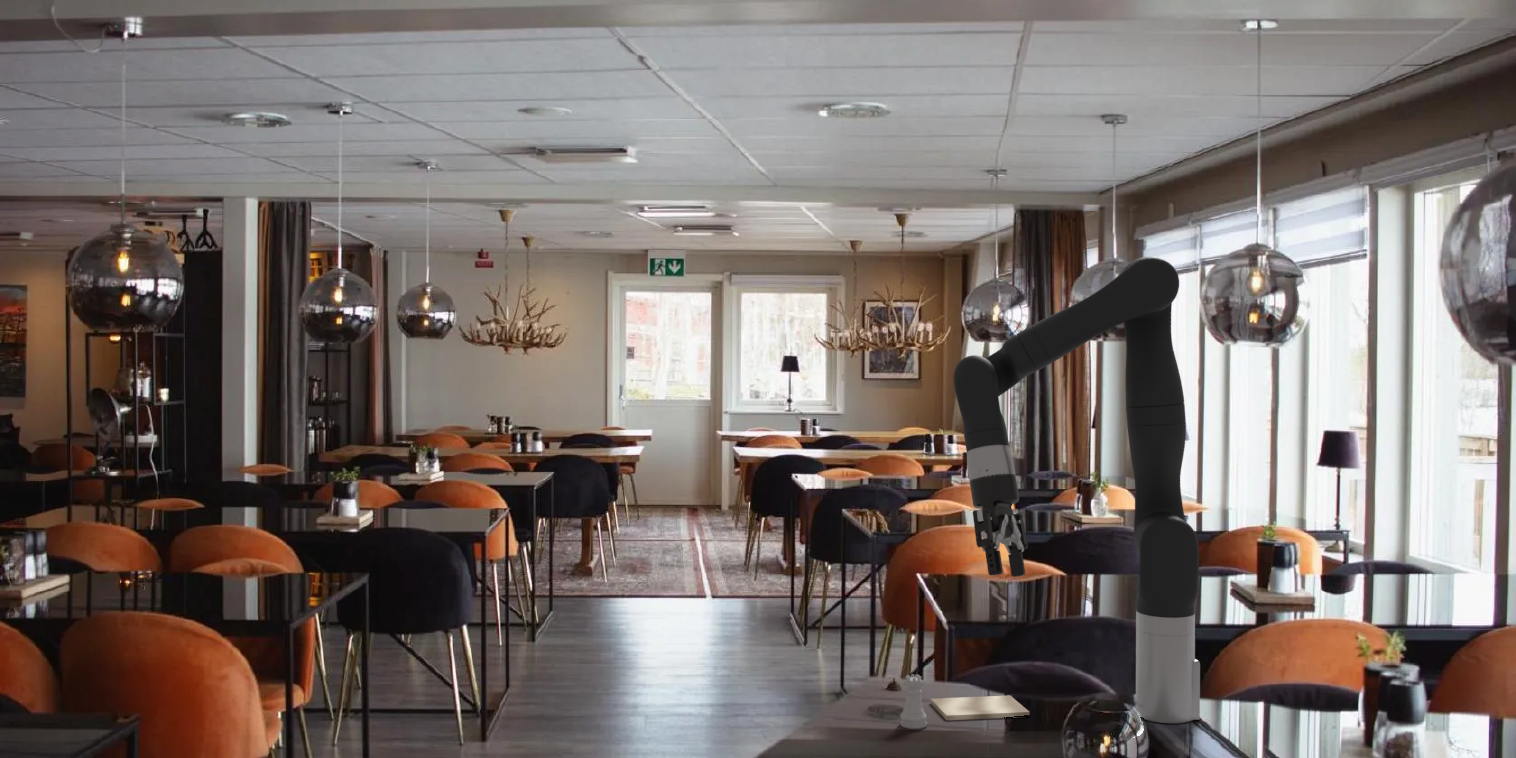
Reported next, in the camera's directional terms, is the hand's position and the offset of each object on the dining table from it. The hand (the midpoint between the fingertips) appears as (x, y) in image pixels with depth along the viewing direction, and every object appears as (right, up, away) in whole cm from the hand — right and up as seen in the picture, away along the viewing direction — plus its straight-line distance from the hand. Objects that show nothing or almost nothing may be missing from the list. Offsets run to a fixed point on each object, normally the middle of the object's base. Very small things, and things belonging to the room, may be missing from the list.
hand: (1007, 575), depth 209 cm
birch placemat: (-3, -24, +9) cm, 26 cm away
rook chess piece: (-15, -24, 0) cm, 29 cm away
